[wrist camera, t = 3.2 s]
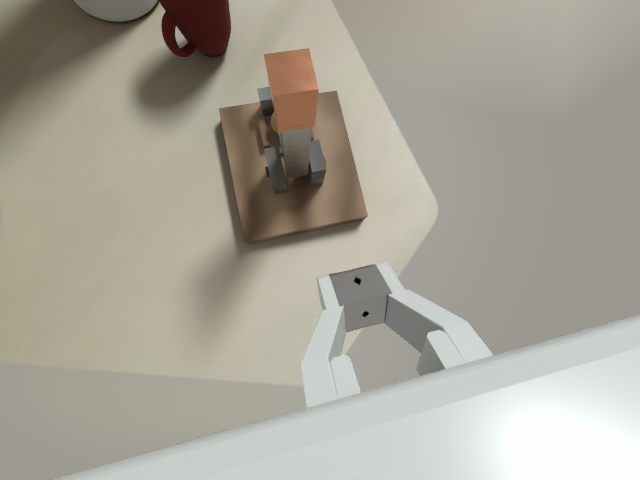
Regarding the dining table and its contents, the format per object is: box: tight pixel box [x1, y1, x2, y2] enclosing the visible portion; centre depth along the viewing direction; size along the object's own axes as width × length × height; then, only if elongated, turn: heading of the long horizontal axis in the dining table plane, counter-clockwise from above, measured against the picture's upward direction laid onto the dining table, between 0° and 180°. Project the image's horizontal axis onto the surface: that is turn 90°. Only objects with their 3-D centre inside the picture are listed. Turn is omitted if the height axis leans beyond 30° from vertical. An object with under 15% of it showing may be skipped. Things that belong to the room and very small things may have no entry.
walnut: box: [271, 112, 279, 136], centre depth 31 cm, size 4×4×4 cm
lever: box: [264, 48, 318, 178], centre depth 22 cm, size 3×5×14 cm, turn 13°
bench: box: [219, 87, 368, 243], centre depth 31 cm, size 16×18×7 cm
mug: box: [159, 0, 231, 57], centre depth 30 cm, size 11×8×10 cm
